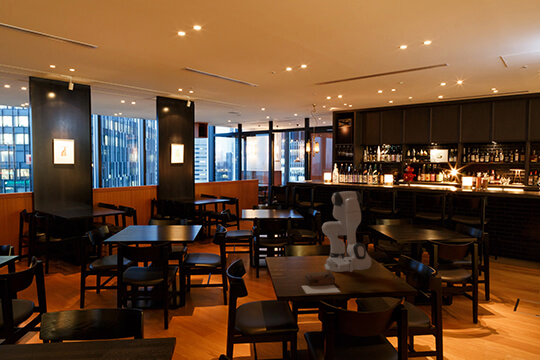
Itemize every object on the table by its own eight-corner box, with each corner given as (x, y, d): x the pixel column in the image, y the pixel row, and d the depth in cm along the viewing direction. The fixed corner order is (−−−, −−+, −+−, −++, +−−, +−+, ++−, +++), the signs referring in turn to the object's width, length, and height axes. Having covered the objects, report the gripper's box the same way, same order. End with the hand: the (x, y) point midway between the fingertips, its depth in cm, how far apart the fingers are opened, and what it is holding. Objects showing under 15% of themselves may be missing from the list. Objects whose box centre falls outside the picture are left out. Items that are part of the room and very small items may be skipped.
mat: (301, 286, 240) (301, 285, 240) (333, 284, 243) (333, 284, 243) (306, 293, 225) (306, 293, 225) (340, 292, 229) (340, 291, 229)
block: (328, 280, 252) (303, 282, 247) (329, 270, 252) (303, 272, 246) (335, 285, 242) (309, 288, 236) (336, 275, 242) (309, 277, 236)
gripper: (342, 255, 246) (323, 255, 244) (353, 262, 226) (332, 263, 224) (342, 263, 246) (323, 264, 244) (353, 272, 226) (332, 273, 224)
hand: (328, 264), depth 234 cm, fingers closed
